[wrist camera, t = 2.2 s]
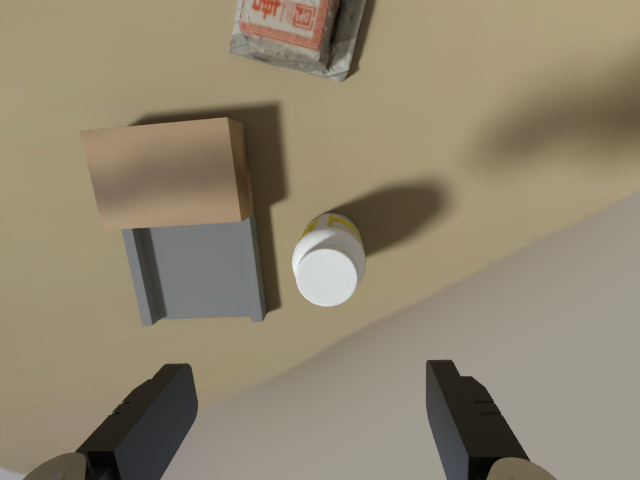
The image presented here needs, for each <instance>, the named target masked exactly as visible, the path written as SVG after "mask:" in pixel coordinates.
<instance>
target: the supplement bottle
mask: <svg viewBox="0 0 640 480" xmlns="http://www.w3.org/2000/svg"><path fill="white" fill-rule="evenodd" d="M292 266H293V271H294V274H295V277H296V281H297V285H298V288H299V290H300V292H301V293H302V294H303V296H304V297H305V298H306V299H308V300H309V301H310V302H312V303H314V304H317V305H320V306H335V305H338V304H341V303H343V302H345V301H346V300H347V299H348V298H349V297H350V296H351V295H352V294H353V292H354V291H355V289H356V287H357V286H358V285H359V283H360V282H361V280H362V278H363V276H364V273H365V268H366V259H365V253H364V248H363V244H362V239H361V236H360V232H359V230H358V228H357V227H356V225H355V224H354V223H353V222H352V221H351V220H350V219H349V218H347V217H345V216H343V215H341V214H336V213H327V214H323V215H320V216H318V217H316V218H315V219H313V220H312V221H311V222H310V223H309V224H308V226H307V227H306V229H305V231H304V233H303V234H302V236H301V238H300V240H299V242H298V243H297V245H296V248H295V250H294V253H293V259H292Z"/></svg>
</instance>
